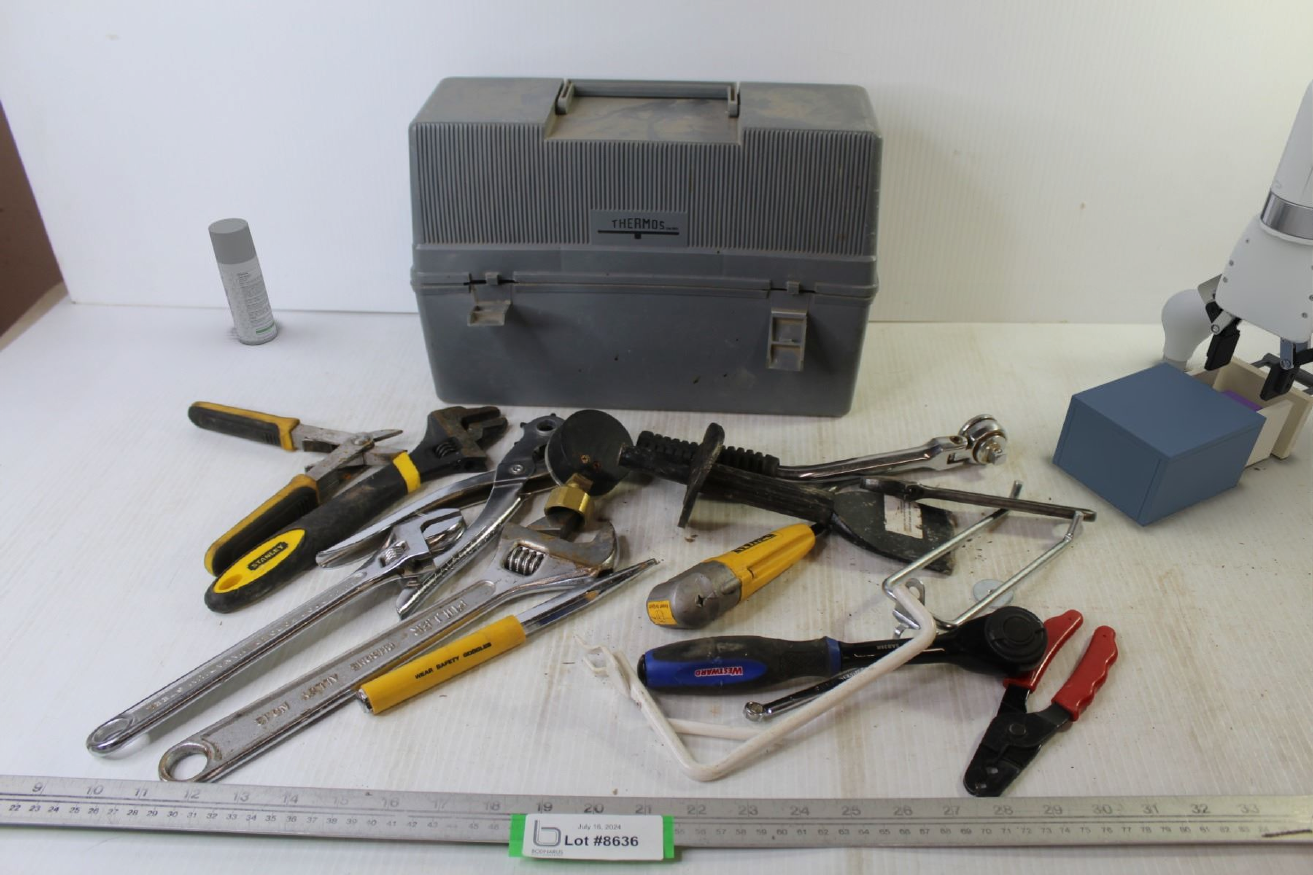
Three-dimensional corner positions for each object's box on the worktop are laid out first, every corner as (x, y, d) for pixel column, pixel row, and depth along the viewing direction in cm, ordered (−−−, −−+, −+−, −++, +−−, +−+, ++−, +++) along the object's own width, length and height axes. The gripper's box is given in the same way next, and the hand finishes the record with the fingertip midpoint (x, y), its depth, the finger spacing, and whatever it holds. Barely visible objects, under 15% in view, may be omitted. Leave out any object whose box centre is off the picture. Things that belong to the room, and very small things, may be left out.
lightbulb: (1204, 389, 114) (1237, 306, 107) (1149, 385, 114) (1178, 302, 108) (1189, 362, 119) (1220, 281, 112) (1136, 358, 119) (1164, 277, 113)
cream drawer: (1236, 394, 111) (1260, 338, 107) (1323, 441, 104) (1352, 384, 100) (1125, 437, 104) (1145, 380, 100) (1209, 491, 97) (1234, 431, 93)
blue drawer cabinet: (1140, 432, 107) (1166, 361, 101) (1234, 491, 98) (1267, 417, 93) (1049, 467, 102) (1071, 394, 96) (1140, 532, 93) (1170, 457, 88)
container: (231, 336, 123) (199, 226, 115) (264, 323, 126) (235, 214, 118) (251, 349, 121) (220, 237, 112) (284, 334, 124) (256, 224, 115)
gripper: (1432, 239, 83) (1348, 412, 94) (1251, 176, 96) (1195, 335, 106) (1378, 259, 81) (1298, 435, 91) (1199, 191, 93) (1147, 352, 104)
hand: (1243, 379), depth 99 cm, fingers open, 5 cm apart
